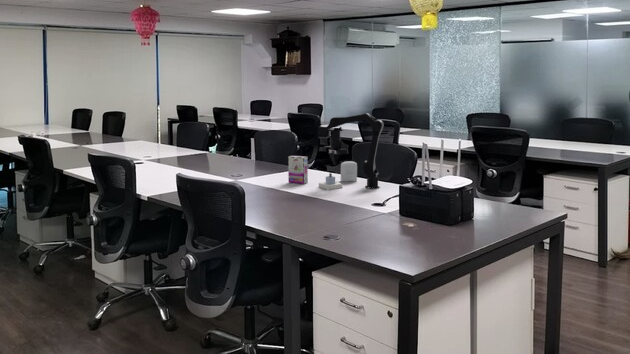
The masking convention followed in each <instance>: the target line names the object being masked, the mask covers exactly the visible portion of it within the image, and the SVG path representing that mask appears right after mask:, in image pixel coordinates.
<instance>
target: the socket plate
mask: <svg viewBox="0 0 630 354" xmlns="http://www.w3.org/2000/svg"><path fill="white" fill-rule="evenodd" d="M318 188H321V189H324V190H327V191H329V190H336V189H338V190H339V189H342V188H343V183H340V182H336V181H335V184H330V185H329V184H326V181H325V182H318Z"/></svg>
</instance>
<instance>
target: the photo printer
mask: <svg viewBox="0 0 630 354" xmlns="http://www.w3.org/2000/svg"><path fill="white" fill-rule="evenodd" d="M357 180H358V163H357V162H355V161H349V160H347V161H344V162H341V163H340V182H357Z"/></svg>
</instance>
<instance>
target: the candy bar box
mask: <svg viewBox="0 0 630 354" xmlns="http://www.w3.org/2000/svg"><path fill="white" fill-rule="evenodd" d="M308 158H309V157H308V156H302V155H289V156H288V157H287V159H288V161H287V163H288V165H287V166H288V175H287V176H288V183H289V184H295V185H296V184H297V185H306V184H308V172H309V171H308V170H309V169H308V166H309V165H308Z"/></svg>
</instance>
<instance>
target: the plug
mask: <svg viewBox="0 0 630 354" xmlns="http://www.w3.org/2000/svg"><path fill="white" fill-rule="evenodd" d="M328 174H329V176H325V182H326V184H329V185H330V184H335V182H336V176H333V174H332V173H330V172H329V173H328Z"/></svg>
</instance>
